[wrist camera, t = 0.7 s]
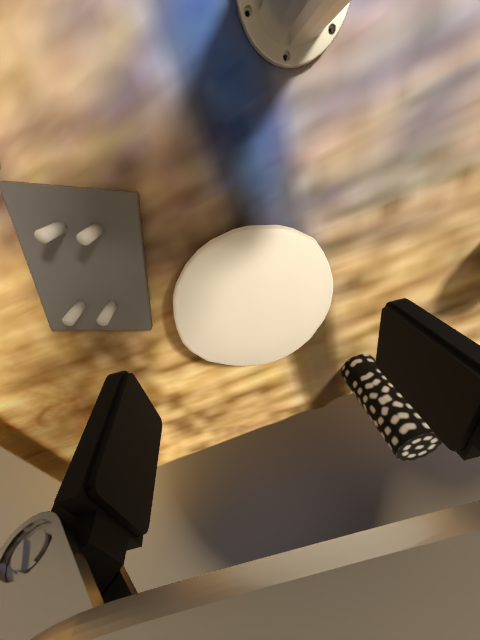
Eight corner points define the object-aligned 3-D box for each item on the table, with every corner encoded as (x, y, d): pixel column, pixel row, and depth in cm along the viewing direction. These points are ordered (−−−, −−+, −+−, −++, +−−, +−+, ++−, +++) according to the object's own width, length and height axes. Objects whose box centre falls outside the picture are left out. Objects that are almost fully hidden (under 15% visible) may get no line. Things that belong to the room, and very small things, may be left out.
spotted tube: (335, 379, 61) (387, 461, 45) (349, 353, 57) (412, 432, 41) (365, 380, 63) (425, 460, 46) (380, 355, 59) (453, 432, 42)
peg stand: (5, 180, 32) (-34, 185, 27) (138, 192, 35) (127, 198, 29) (55, 325, 44) (35, 349, 38) (152, 325, 46) (146, 347, 41)
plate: (343, 209, 35) (335, 350, 50) (320, 203, 41) (319, 332, 56) (144, 257, 32) (198, 394, 47) (147, 244, 38) (195, 370, 52)
